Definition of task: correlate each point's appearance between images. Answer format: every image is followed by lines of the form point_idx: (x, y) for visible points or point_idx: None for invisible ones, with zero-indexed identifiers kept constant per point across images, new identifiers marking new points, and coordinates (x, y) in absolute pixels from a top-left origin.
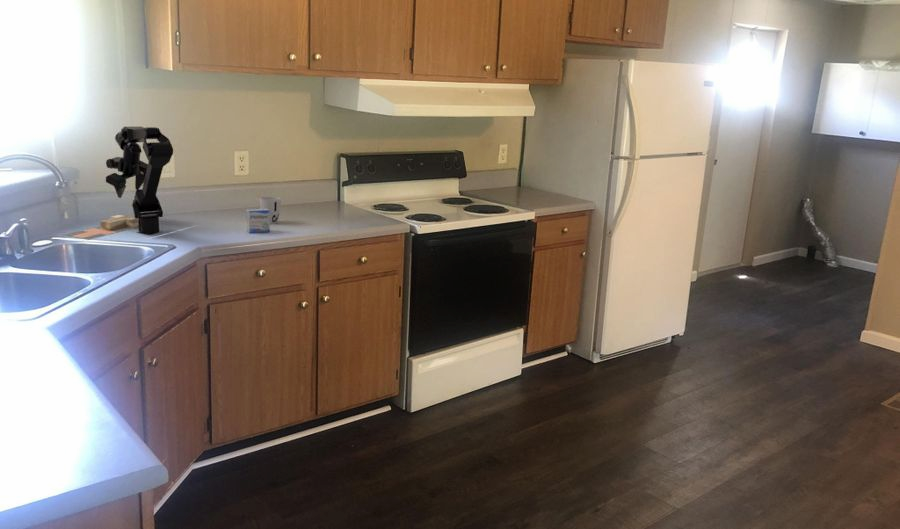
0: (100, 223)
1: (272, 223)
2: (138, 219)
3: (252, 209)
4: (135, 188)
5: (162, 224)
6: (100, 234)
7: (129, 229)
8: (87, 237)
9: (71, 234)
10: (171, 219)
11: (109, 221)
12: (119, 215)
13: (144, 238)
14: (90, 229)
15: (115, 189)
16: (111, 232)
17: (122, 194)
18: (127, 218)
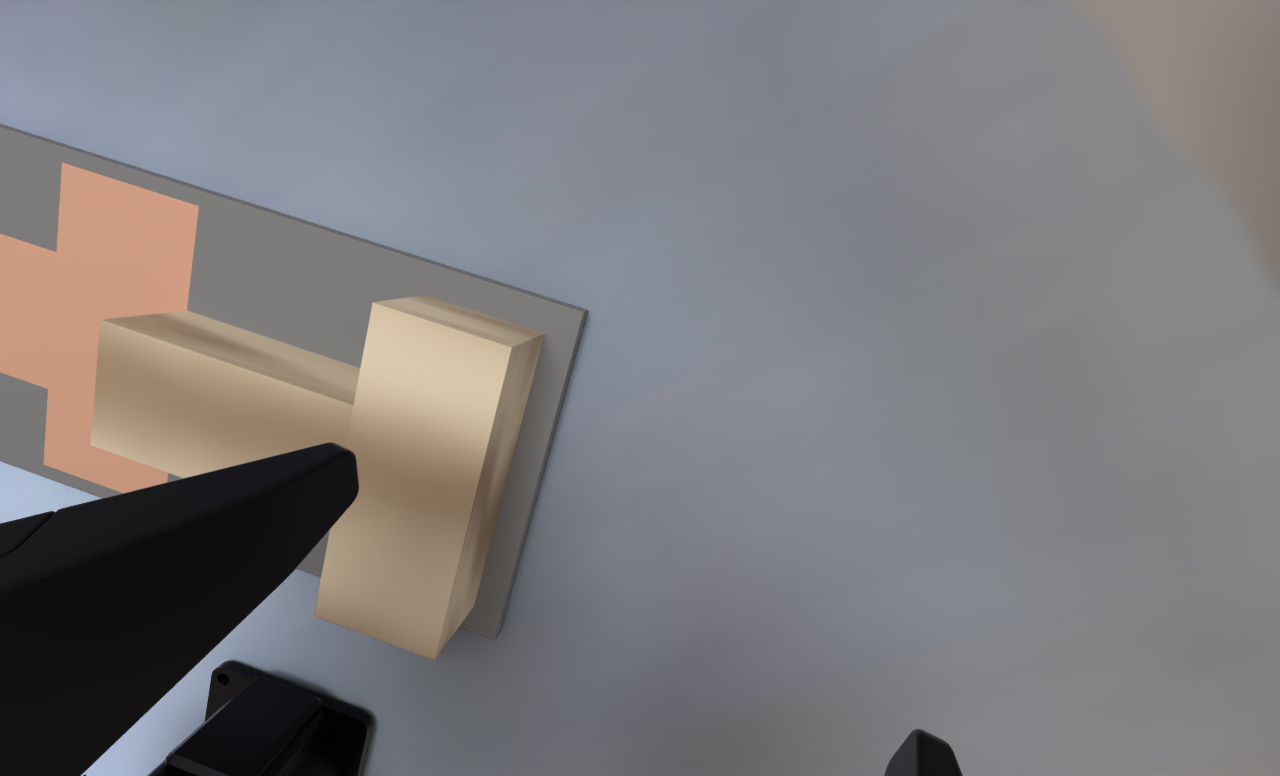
0: (124, 317)
1: None
2: (418, 642)
3: None
4: (914, 741)
5: (681, 744)
6: (24, 409)
7: (297, 567)
8: None
9: None
10: (965, 761)
11: (141, 420)
12: (482, 375)
13: (135, 759)
14: (142, 208)
15: (25, 527)
16: (125, 467)
17: (254, 600)
18: (359, 540)
